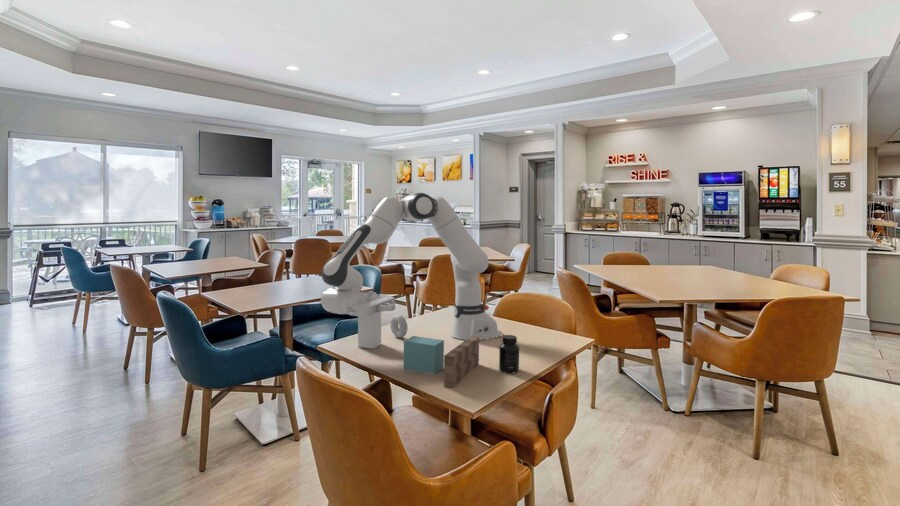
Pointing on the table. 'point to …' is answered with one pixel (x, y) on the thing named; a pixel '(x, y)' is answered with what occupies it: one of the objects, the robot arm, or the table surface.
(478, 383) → the table surface
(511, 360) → the supplement bottle
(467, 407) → the table surface
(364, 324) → the milk carton
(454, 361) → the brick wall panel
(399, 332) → the donut
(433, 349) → the teal block
